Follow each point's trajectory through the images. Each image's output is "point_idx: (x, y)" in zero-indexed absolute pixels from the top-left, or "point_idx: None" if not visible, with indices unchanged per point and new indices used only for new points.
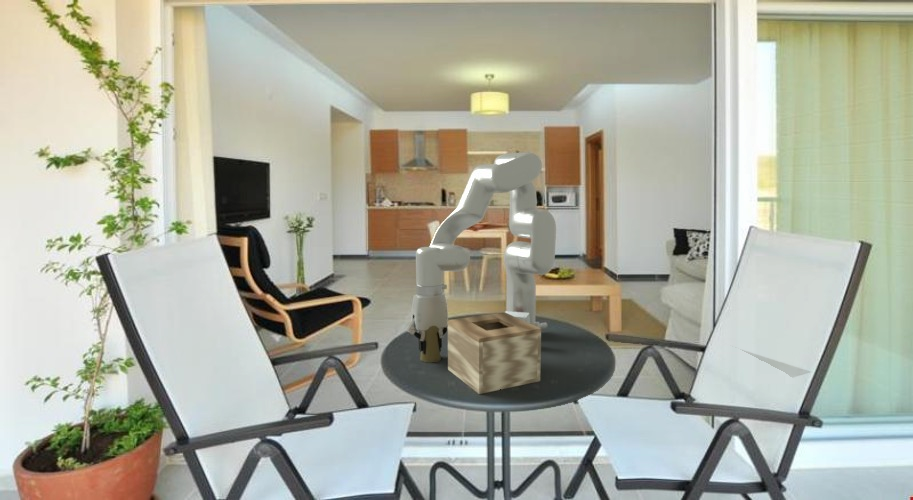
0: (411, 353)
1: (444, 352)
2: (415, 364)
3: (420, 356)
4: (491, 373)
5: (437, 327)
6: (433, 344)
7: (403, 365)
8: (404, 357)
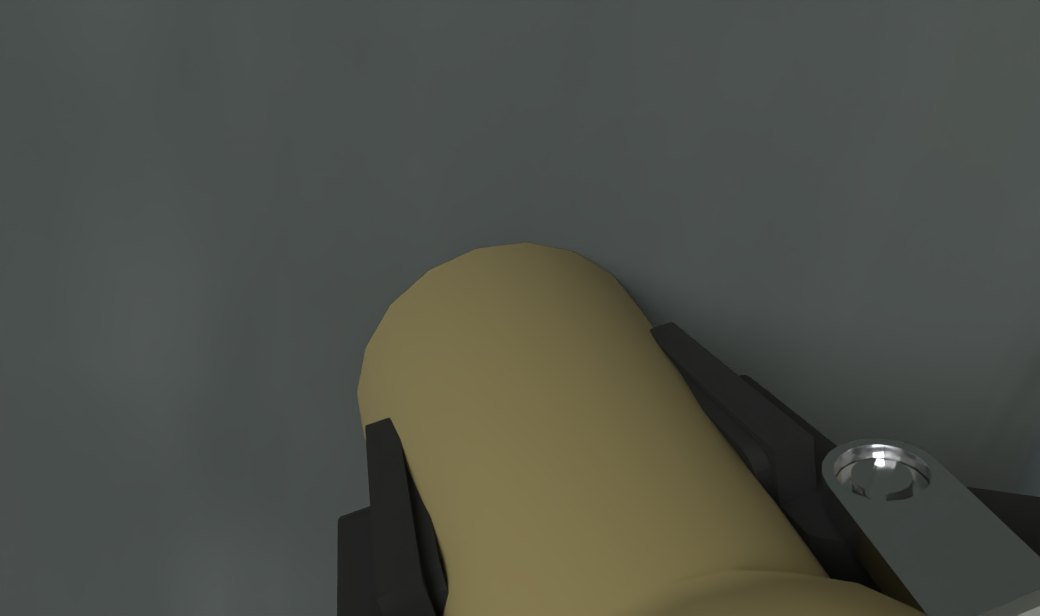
0: (204, 85)
1: (761, 154)
2: (278, 570)
3: (364, 415)
4: None
5: None
6: None
7: (91, 600)
8: (73, 279)
